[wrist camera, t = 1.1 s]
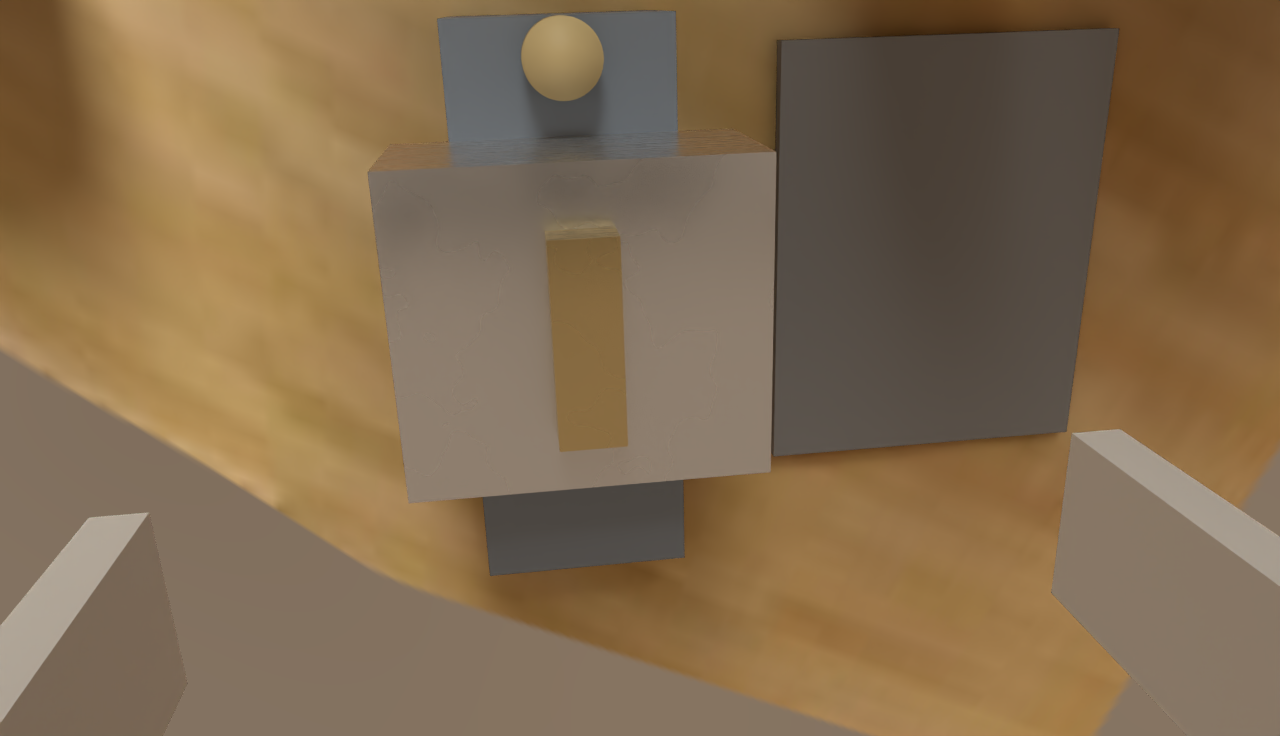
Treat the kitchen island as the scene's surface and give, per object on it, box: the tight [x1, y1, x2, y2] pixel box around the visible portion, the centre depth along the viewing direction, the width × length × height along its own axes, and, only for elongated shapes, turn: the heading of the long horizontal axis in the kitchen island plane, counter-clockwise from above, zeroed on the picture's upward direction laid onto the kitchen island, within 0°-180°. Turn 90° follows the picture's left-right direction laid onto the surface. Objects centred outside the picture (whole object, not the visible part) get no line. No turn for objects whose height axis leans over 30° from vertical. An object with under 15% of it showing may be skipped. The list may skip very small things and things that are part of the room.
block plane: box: [437, 10, 685, 576], centre depth 29 cm, size 16×6×6 cm, turn 2°
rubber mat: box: [771, 28, 1119, 456], centre depth 33 cm, size 14×11×1 cm
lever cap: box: [368, 129, 776, 503], centre depth 25 cm, size 8×9×6 cm
